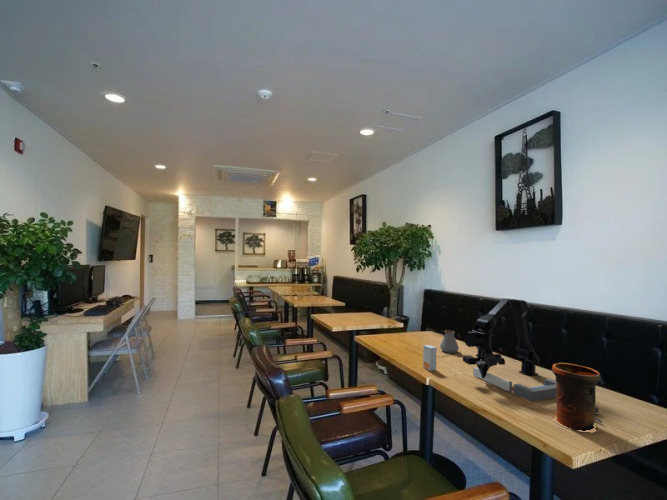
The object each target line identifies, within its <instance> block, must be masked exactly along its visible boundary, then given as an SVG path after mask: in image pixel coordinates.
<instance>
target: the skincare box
mask: <svg viewBox="0 0 667 500" xmlns="http://www.w3.org/2000/svg"><path fill="white" fill-rule="evenodd" d="M422 355H423V357H422V359H423V361H422V362H423V363H422V368H423V369H425V370H428V371H429V372H432V371H437V347H436V346H434V345H431V344H425V345H423V353H422Z"/></svg>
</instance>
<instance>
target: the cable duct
mask: <svg viewBox="0 0 667 500" xmlns="http://www.w3.org/2000/svg"><path fill="white" fill-rule="evenodd" d="M545 385H547V386H545ZM556 385H557V383H556V380H553V379H550V378H544V379H543V385H541V386H542V387H539V386H535V387H536V388H533V387H528V386H526V385H523V384H521V383H514V384H513V394H514V395H516V396H519V397H521V398H523V399H525V400H528V401H529V402H532V403H533V402H539V401H542V400H547V399H548V398H549V399H553V398H552V397H554V398H556Z"/></svg>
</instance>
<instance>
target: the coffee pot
mask: <svg viewBox="0 0 667 500" xmlns="http://www.w3.org/2000/svg"><path fill="white" fill-rule="evenodd" d="M427 331H430V332H433V333H435V334H437V335H439V336H442V337H443V338H442V340H441V342H440V344H439V348H440V349H441V350H442V352H444V353H448V354H455V353H456V352H458V351H459V348H460V347H459V345H458V342H457V338H456V337H455V331H454V330H450V329H445V330H444V334H443V333H440V332H439V331H436V330H434V329H432V328H429V327H427V328H426V332H427Z"/></svg>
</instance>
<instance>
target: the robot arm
mask: <svg viewBox="0 0 667 500" xmlns="http://www.w3.org/2000/svg"><path fill="white" fill-rule="evenodd" d="M499 300H500V301H499V302H498V303H497V304H496V305H495V306H494V307H493V308H492V309H491V310H490V311H489V312H488V313H487V314H484V315H482V316H480V317H479V318H477V320H476V321H475V324H474V326H473V327H472V329H471V331H468V332H467V334H466V335H465V336H464V344H465V345H466V346H467V347H468V348H474V347H475V348H476V349H477V353H476V354H475V356H473V355H469V354H468V355H467V354H466V355H463V357H462V362H463V363H466V364H467V365H476V366H477V367H476V368H478V369H479V371H480V374H481V376H482V378H485V376H486V373H487V372H488V371H489V369H490V368H492V367H494V366H497V365H501V366H502V365H503V366H504V365H506V360H505V358H504V357H502V355H501V354H499V353H494V352H493V351H494V350H493V348H491V347H492V337H494V336H495V334H494V333H493V331H494V329H495V327H497V321H498V320H499V319H500V318H501V317H502V316H503V315H504V314H505V313H506V312H507V311H508V310H509V313H510V314H511V315H512V317H514V322H515V329H516V334H517V340H518V344H517V346H515V354H516V355H517V359H518V361H521V367H520V370H519V371H518V372H519V373H520V374H523V375H527V376H529V377H531V376H537V375H539V373H538V372H536V365H539V364H540V361H541V359H540V357H539V356H538V354H537V353H536V350H535V347H534V345H533V344H532V343H531V342H530V337H529V336H530V335H529V329H528V324H527V318H526V315H527V313H528V302H527V301H525V300H524V299H516V298H515V299H514V298H505V297H503V298H500V299H499Z"/></svg>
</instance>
